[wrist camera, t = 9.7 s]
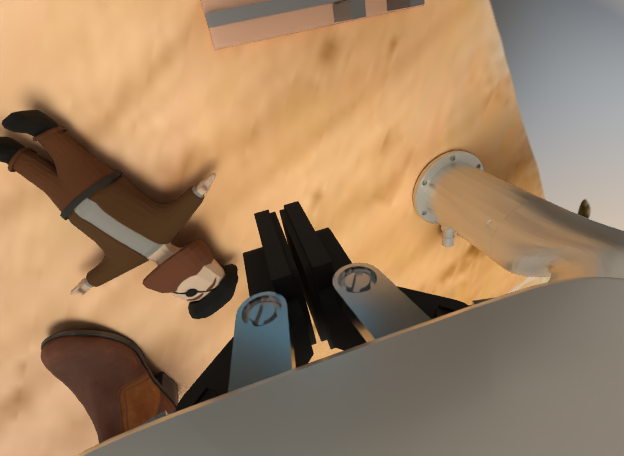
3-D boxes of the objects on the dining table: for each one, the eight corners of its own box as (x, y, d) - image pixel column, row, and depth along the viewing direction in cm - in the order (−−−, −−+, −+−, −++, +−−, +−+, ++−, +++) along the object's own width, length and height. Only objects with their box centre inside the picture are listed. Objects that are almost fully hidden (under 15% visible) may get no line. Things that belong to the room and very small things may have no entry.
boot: (35, 332, 46) (-127, 604, 24) (96, 305, 47) (-7, 546, 24) (142, 413, 60) (103, 635, 38) (188, 392, 61) (176, 597, 38)
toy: (81, 43, 28) (291, 263, 41) (117, 54, 37) (281, 233, 50) (-107, 213, 30) (151, 373, 43) (-31, 185, 39) (165, 326, 52)
